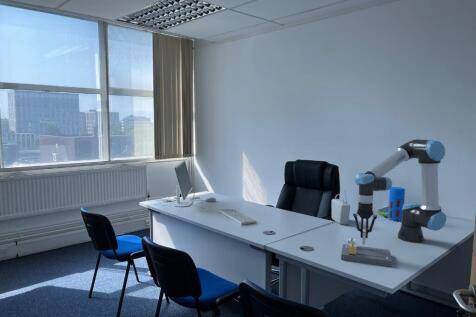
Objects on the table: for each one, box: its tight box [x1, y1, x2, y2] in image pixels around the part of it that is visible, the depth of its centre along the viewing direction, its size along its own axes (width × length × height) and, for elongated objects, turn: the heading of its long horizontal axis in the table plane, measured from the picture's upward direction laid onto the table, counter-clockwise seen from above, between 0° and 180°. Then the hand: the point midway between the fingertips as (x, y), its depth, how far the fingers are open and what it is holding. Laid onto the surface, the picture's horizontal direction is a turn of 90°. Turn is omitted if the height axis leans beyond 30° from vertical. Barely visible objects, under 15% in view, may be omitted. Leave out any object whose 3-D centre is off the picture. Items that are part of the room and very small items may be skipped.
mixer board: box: [340, 243, 393, 268], centre depth 191 cm, size 25×18×3 cm
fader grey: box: [347, 237, 357, 248], centre depth 198 cm, size 4×5×4 cm
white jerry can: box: [331, 189, 351, 226], centre depth 264 cm, size 22×8×25 cm, turn 4°
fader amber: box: [348, 243, 358, 255], centre depth 189 cm, size 4×5×4 cm
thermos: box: [387, 186, 406, 222], centre depth 274 cm, size 11×11×25 cm
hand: (363, 243), depth 196 cm, fingers closed
